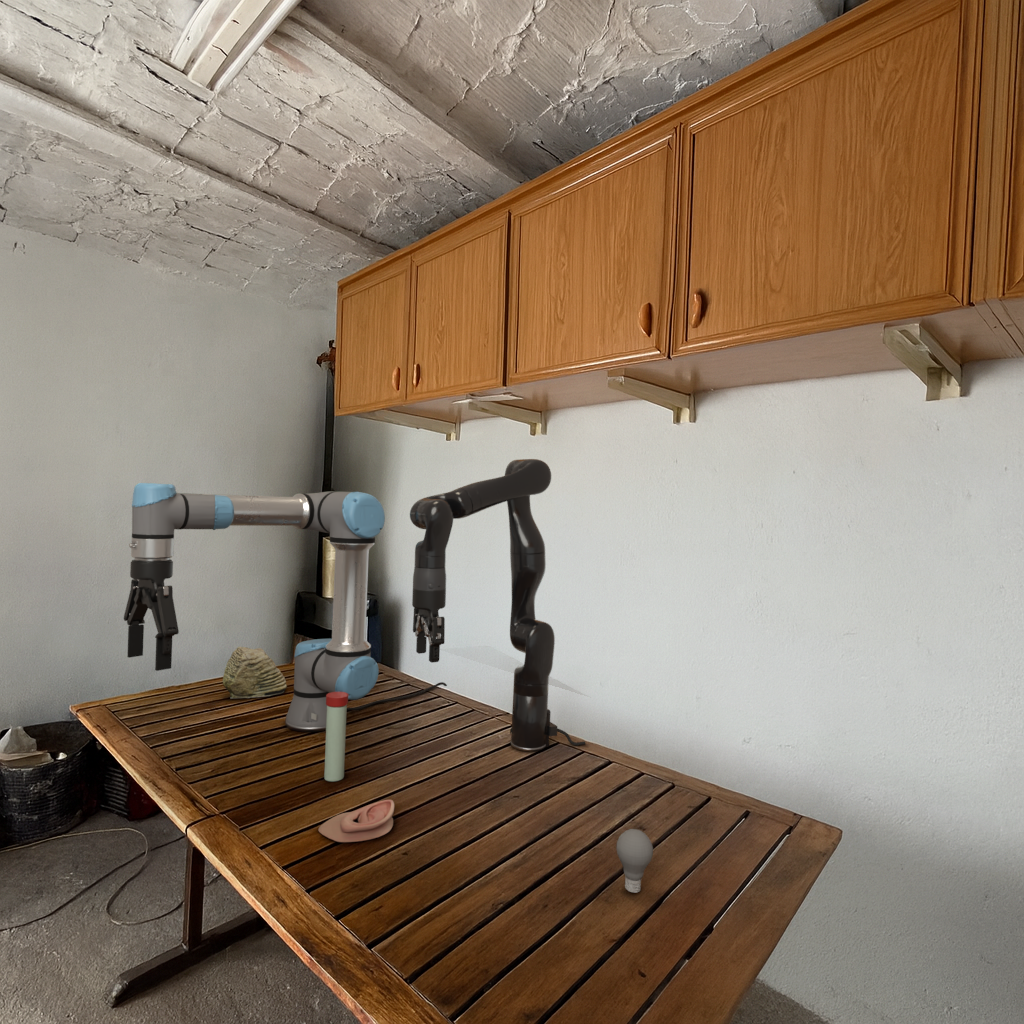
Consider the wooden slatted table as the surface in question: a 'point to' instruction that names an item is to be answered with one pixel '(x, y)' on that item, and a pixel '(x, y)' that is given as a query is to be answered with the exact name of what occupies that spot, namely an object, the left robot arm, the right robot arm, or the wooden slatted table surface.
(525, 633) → the right robot arm
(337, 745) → the pale green slim bottle
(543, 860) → the wooden slatted table surface
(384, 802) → the anatomical model
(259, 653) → the fossil
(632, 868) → the light bulb
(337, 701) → the lid
